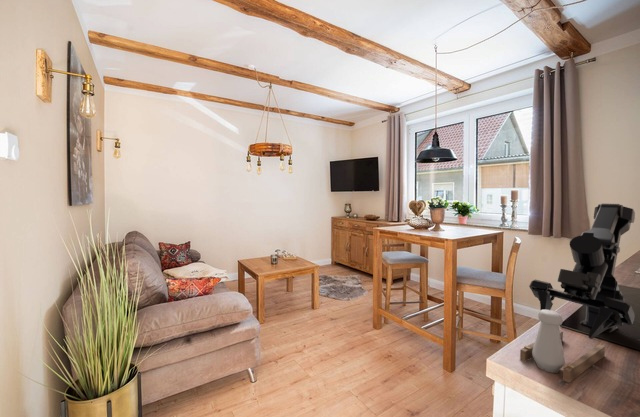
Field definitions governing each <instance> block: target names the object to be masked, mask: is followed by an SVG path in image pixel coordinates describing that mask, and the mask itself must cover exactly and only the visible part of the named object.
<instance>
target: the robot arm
mask: <svg viewBox="0 0 640 417" xmlns="http://www.w3.org/2000/svg"><path fill="white" fill-rule="evenodd" d="M635 216H636V212H635V210H634V208H630V207H628V206H624V205H623V204H619V203H599V204H598V205H597V206H595V207H594V213H593V219H594V220H593V223H592V224H591V227H590V229H588V230H585V231H583V232H582V233H581V235H576V236H575V237H573V238H572V239H571V240H569V249H570V251H571V256H572V259H573V262H574V263H575V265H574V267H573V269H572V270H569V269H568V270H567V269H564V268H560V271H559V274H558V278H557V282H558V283H561V284H560V288H561V289H563V290H558V289H555V288H553V285H552V284H551V282H547V281H542V280H539V279H533V280H532V281H531V282H530V283H529V285H528V286H529V289H530V291H531V292H532V294H533V296H534V297H535V298H537V300H538V301H539V305H540V306H539V307H540V310H543V309H546V310H552V307H553V304H554V303H553V301H554V300H555V298H558V299H561V300H564V301H568V302H570V303H571V302H573V303H575V304H579V305H583V306H585V308H586V309H585V319H583V320H581V321H580V322H579V324H580V325H583V326H586V327H589V328H590V331H589V333H588V338H589V339H590V340H593V339H595V337H597V336H599V335H600V334H601V333H603V332H605V333H608V334H610V333H612V332H613V331H615V330H617V329H618V326H619V327H620V326H621V327H623V325H628V326H632V325H633V324H634V321H635V315H636V314H635V312H634V310H633V307H632V305H631V303H630V302H628V301H625V297H624V296H623V293H622V291H621V290H620V287H619V283H618V281H617V280H616V278H615V277H614V274H615V269H616V264H617V259H618V254H619V253H620V251H621V247H620V241H621V237H622V236H623V235H624V234H626V233H627V232H628V231H630V229H631V225H632V224H634V222H635V220H636V217H635ZM540 310H539V311H540Z"/></svg>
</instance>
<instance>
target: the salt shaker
mask: <svg viewBox="0 0 640 417" xmlns="http://www.w3.org/2000/svg"><path fill="white" fill-rule="evenodd" d="M537 317H538V320H539V321H540V324H539V327H538V330H537V333H536V338H535V340H534V342H535V344H534V347H533V351H532V355H533V357H532V358H533V360H534V362H535V363H536V365H537V367H538V368H539V369H541V370H542V371H545V372H547V373H553V374H554V373H555V374H557V373H558V372H559V371H560V370H562V368H563V367H564V366H565V363H566V362H565V356H564V349H563V344H562V341H561V336H560V326H562V324H563V322H564V319H563V316H562V315H561V314H560V313H559V312H558V311H555V310H552V309H551V310H546V309H543V310H539V311H538V314H537Z"/></svg>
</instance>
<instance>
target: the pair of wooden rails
mask: <svg viewBox="0 0 640 417" xmlns="http://www.w3.org/2000/svg"><path fill="white" fill-rule="evenodd" d="M559 330H560V329H559ZM560 336H561V342H562V341H563V340H564V339H563V338H564V331H563V330H560ZM534 344H535V341H534V342H533V343H530V344H529V345H525V346H523V348H520V353H519V361H522V362H527V361H529V360H531V359H532V358H533V355H532V351H533V347H534ZM605 352H606V346H605V345H603V344H597V345H596V346H595V347H593V348H592V349H590V350H588V351H587V352H585V354H583V355H581V356H580V357H579V358H577V359H575V360H574V361H573V362H572V363H569V364H567V365H566V366H565V367H564V368H563V369H562V381H564V382H566V383H571V382H572V381H574V379H576V378H578V377H579V376H580V375H581V374H583V373H584V372H586V371H587V370H588V369H589V368H591V367H592V366H593V365H594V364H596V363H598V361H600V360H601V359H603V358H604V357H605Z"/></svg>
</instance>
